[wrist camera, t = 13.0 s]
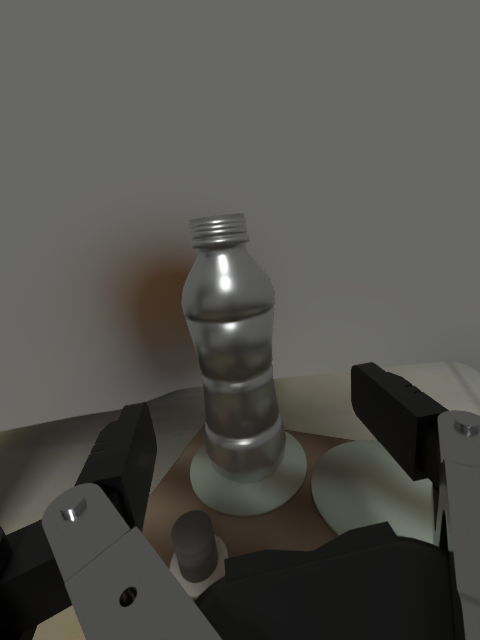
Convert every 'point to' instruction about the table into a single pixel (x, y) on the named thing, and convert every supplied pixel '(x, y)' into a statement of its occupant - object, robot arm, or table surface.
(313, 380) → the table surface
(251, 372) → the plastic bottle
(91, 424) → the table surface
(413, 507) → the board
